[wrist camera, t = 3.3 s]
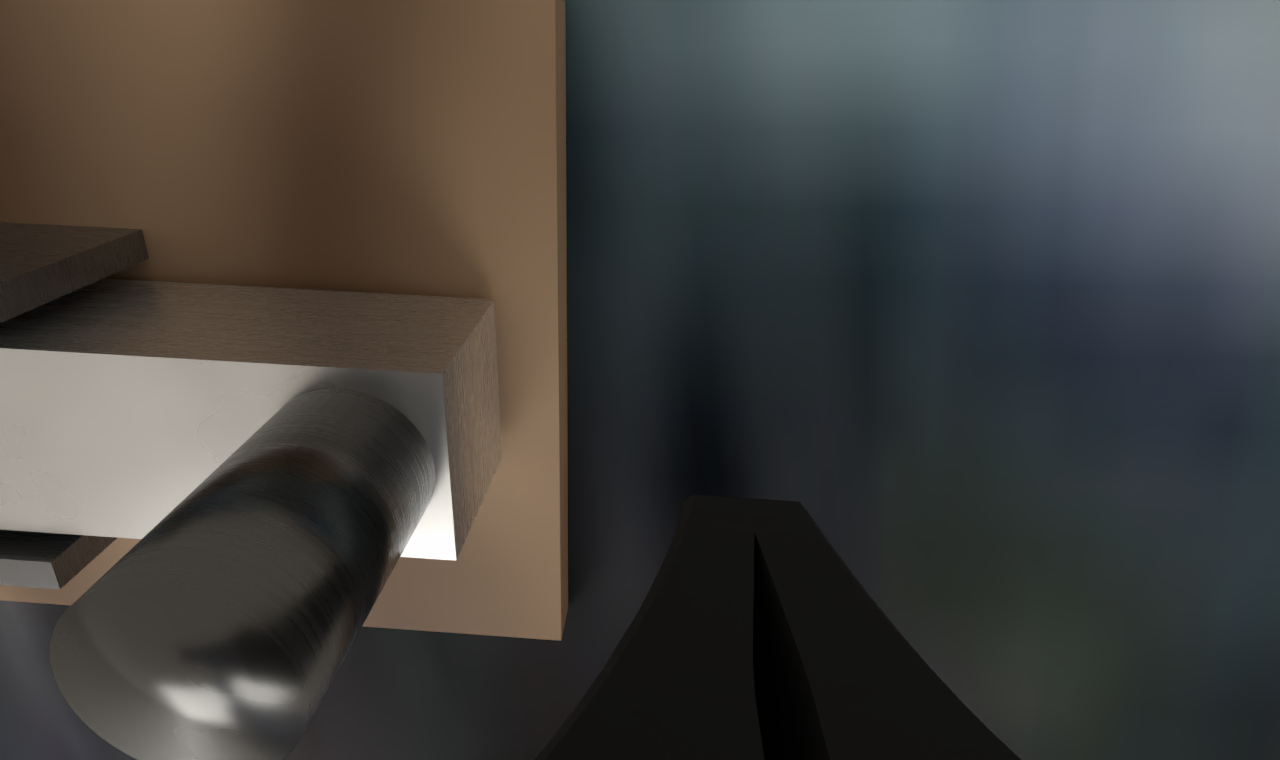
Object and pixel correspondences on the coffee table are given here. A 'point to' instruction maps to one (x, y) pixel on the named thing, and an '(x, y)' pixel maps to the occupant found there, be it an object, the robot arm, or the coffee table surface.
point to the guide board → (331, 209)
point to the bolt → (238, 488)
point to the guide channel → (16, 283)
